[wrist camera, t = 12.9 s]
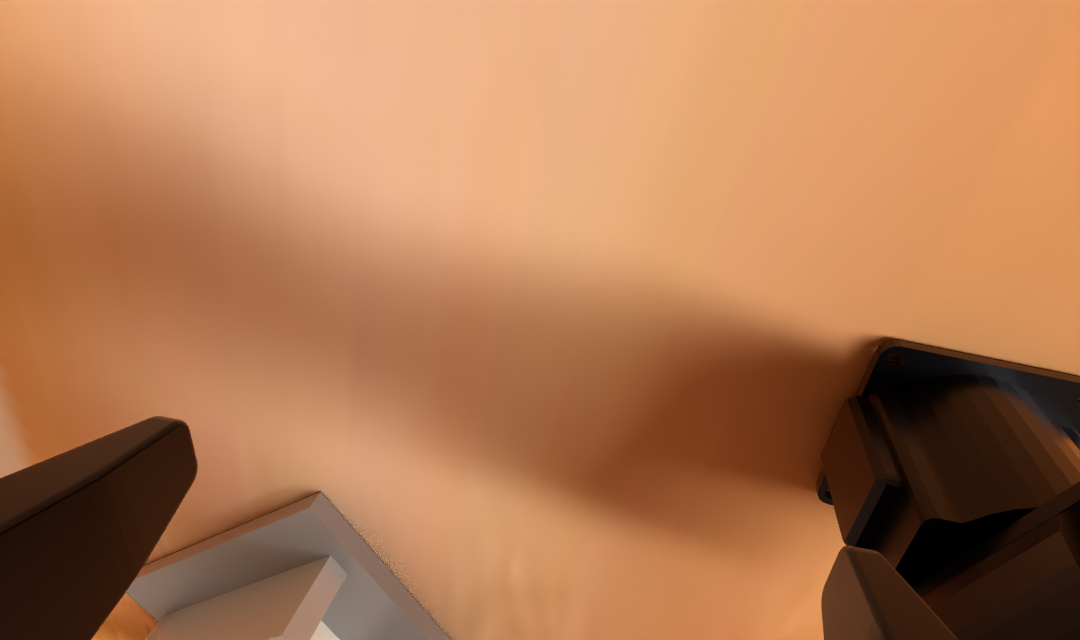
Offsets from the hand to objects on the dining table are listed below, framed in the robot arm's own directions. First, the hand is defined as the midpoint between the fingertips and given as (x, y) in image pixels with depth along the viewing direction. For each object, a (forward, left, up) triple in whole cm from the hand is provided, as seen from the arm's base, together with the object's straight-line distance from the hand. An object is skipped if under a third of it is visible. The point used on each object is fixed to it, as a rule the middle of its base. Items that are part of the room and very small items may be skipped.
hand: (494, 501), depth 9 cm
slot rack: (+11, +25, -13) cm, 30 cm away
